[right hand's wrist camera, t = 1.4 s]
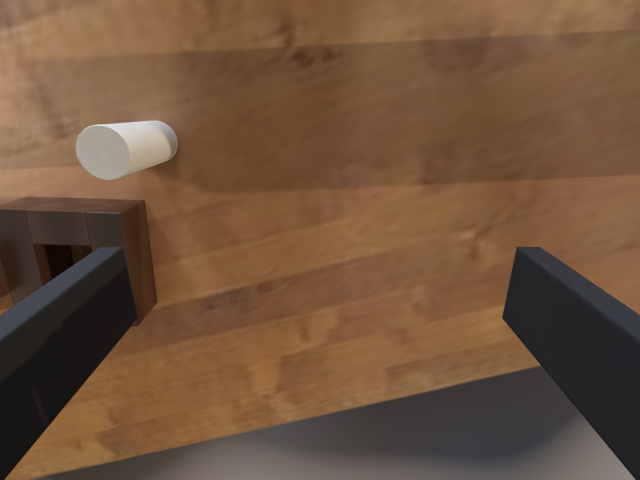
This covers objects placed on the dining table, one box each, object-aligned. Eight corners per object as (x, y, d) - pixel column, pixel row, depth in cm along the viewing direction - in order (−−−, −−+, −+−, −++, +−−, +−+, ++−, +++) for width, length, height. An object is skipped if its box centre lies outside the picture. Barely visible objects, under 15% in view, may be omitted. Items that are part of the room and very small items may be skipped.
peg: (134, 119, 36) (70, 123, 26) (176, 121, 36) (127, 125, 27) (140, 161, 37) (80, 179, 28) (180, 162, 37) (134, 181, 28)
